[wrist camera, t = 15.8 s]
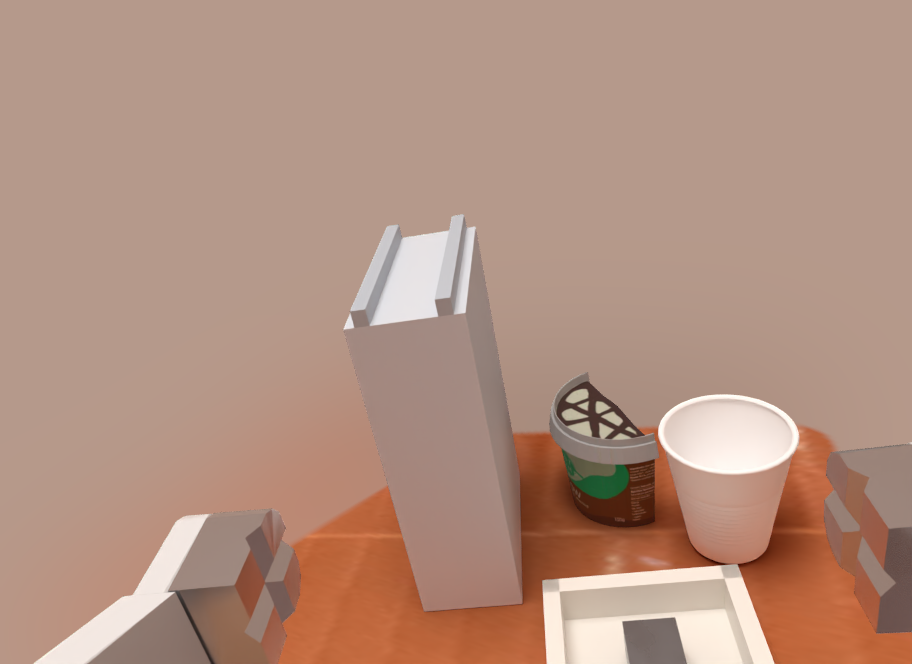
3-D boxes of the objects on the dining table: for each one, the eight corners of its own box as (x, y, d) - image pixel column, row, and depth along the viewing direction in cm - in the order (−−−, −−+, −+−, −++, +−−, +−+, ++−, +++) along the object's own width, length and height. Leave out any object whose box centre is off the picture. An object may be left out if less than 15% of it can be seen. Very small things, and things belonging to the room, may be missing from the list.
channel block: (424, 611, 58) (338, 312, 46) (440, 482, 72) (378, 227, 60) (522, 603, 57) (461, 295, 45) (519, 474, 71) (473, 212, 59)
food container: (538, 475, 70) (524, 389, 66) (594, 454, 72) (584, 369, 67) (599, 558, 60) (587, 462, 55) (664, 532, 61) (657, 436, 56)
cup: (639, 541, 60) (630, 435, 56) (714, 482, 65) (712, 380, 60) (744, 608, 53) (744, 492, 48) (820, 537, 57) (827, 424, 52)
